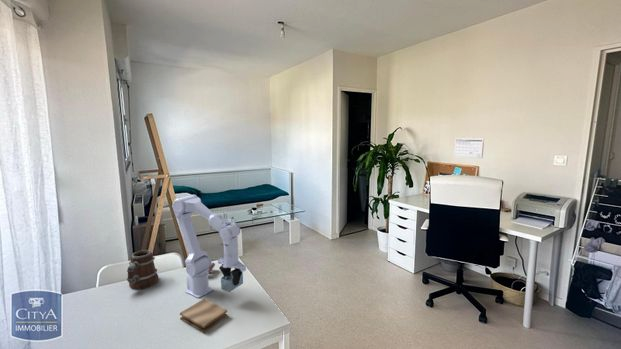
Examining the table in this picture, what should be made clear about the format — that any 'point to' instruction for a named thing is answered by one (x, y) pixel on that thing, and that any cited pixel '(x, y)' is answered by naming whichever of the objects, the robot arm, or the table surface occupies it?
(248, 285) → the table surface
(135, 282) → the brown wooden bucket
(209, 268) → the video game controller
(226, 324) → the table surface
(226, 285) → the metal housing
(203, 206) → the robot arm
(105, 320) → the table surface
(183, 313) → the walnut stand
